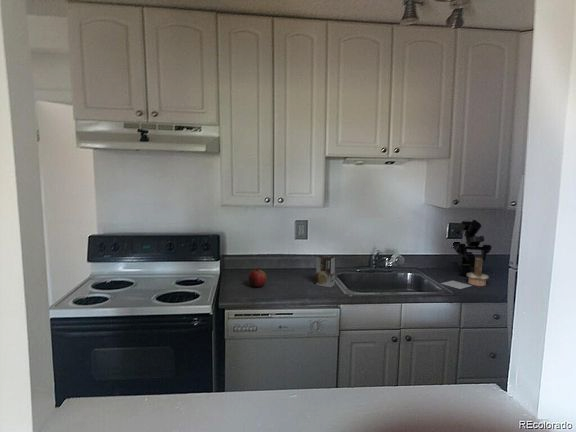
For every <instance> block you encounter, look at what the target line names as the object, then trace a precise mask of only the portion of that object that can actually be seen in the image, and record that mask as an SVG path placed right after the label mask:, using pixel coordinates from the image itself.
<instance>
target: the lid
mask: <svg viewBox="0 0 576 432" xmlns="http://www.w3.org/2000/svg"><path fill="white" fill-rule="evenodd" d="M483 262H484V260H483V257H475V267H473V268H474V269H473V270H474V271H473V273H467V276H468V277H467V278H469V277H470V278H475V279H486V280H488V279H490V276H489V275H488V274H484V273H482V271H483Z"/></svg>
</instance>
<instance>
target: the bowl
mask: <svg viewBox="0 0 576 432" xmlns="http://www.w3.org/2000/svg"><path fill="white" fill-rule="evenodd" d="M467 284H469V285H471V286H477V287H484V286H486V284H487V279H475V278H470V277H468V283H467Z"/></svg>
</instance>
